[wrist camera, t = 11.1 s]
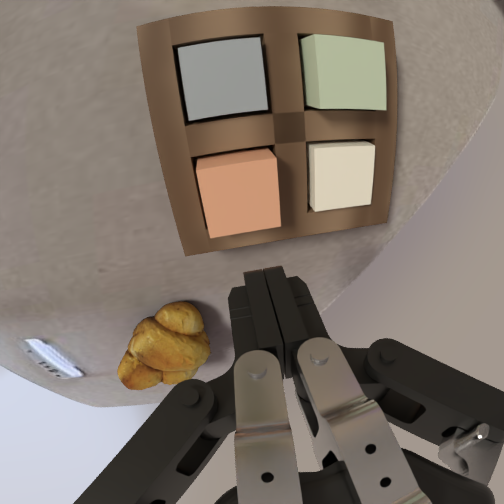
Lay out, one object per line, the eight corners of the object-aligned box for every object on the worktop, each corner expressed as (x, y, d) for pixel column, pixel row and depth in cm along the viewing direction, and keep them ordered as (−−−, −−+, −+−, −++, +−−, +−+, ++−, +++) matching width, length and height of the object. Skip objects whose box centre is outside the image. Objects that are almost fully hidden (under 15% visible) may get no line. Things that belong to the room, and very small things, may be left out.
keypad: (366, 26, 16) (392, 21, 12) (366, 203, 26) (386, 222, 23) (148, 36, 15) (136, 26, 11) (187, 231, 25) (185, 256, 22)
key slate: (252, 43, 15) (259, 37, 13) (259, 105, 18) (267, 109, 16) (182, 53, 15) (177, 48, 12) (191, 115, 18) (189, 120, 15)
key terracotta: (267, 147, 19) (276, 158, 16) (272, 207, 22) (281, 226, 19) (197, 157, 18) (196, 170, 16) (209, 218, 21) (210, 238, 19)
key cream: (356, 136, 20) (375, 145, 18) (354, 189, 23) (370, 204, 21) (301, 139, 20) (314, 148, 18) (303, 196, 23) (314, 211, 21)
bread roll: (163, 280, 28) (156, 340, 22) (233, 315, 33) (241, 372, 26) (119, 337, 33) (110, 388, 26) (179, 362, 37) (178, 410, 31)
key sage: (361, 45, 15) (383, 42, 12) (364, 104, 17) (386, 110, 15) (298, 40, 14) (314, 34, 12) (304, 104, 17) (320, 108, 15)
